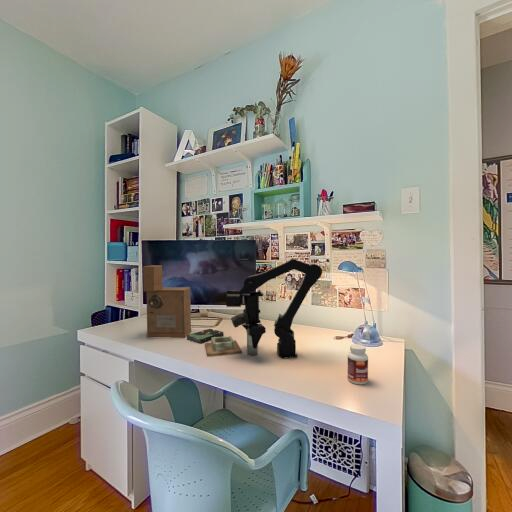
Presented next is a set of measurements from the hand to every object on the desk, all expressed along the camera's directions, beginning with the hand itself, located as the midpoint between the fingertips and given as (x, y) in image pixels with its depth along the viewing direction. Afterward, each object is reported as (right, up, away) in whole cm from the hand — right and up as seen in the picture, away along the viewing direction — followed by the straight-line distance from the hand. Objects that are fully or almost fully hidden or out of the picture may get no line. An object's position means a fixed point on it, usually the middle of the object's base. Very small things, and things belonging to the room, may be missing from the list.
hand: (252, 345), depth 115 cm
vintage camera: (-43, -4, +27) cm, 51 cm away
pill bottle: (+34, -4, -24) cm, 42 cm away
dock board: (-13, -4, +6) cm, 15 cm away
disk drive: (-23, -4, +22) cm, 32 cm away
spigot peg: (0, -4, 0) cm, 4 cm away
